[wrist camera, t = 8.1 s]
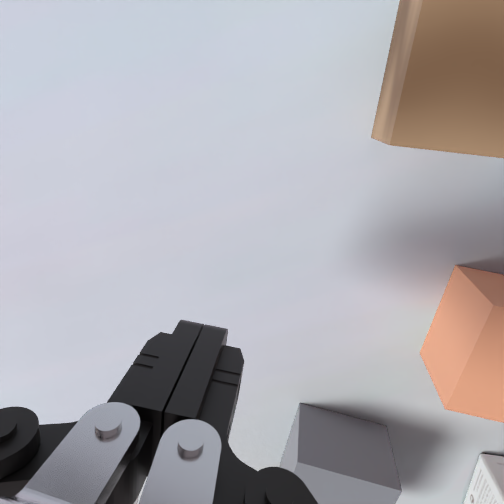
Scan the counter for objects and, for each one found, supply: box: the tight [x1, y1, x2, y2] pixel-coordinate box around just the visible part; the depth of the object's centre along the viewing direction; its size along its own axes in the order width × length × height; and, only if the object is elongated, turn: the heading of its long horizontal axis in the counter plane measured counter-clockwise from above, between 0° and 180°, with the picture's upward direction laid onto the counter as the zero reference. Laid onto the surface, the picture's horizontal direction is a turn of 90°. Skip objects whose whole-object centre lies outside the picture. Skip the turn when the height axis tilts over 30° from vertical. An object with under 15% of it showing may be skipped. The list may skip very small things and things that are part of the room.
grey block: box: [280, 403, 402, 504], centre depth 20 cm, size 5×5×4 cm
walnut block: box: [371, 0, 504, 158], centre depth 13 cm, size 5×5×4 cm
